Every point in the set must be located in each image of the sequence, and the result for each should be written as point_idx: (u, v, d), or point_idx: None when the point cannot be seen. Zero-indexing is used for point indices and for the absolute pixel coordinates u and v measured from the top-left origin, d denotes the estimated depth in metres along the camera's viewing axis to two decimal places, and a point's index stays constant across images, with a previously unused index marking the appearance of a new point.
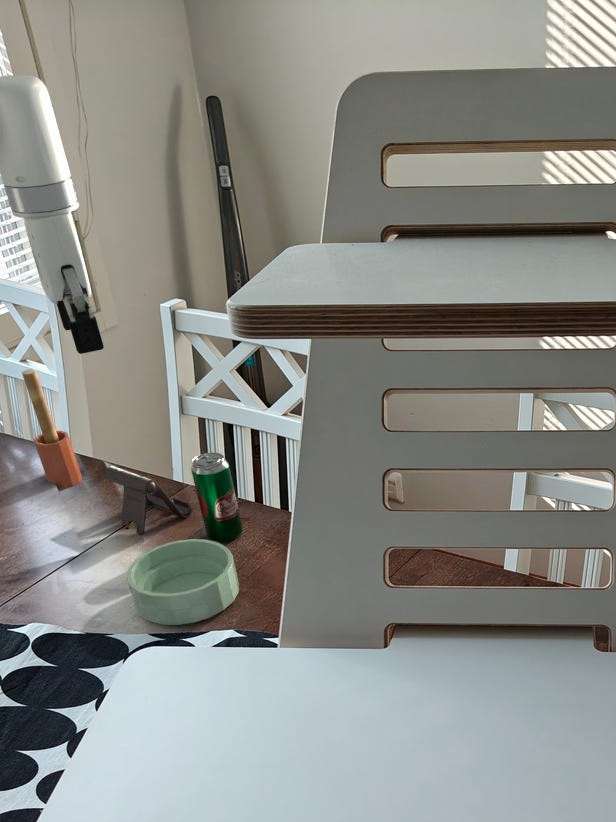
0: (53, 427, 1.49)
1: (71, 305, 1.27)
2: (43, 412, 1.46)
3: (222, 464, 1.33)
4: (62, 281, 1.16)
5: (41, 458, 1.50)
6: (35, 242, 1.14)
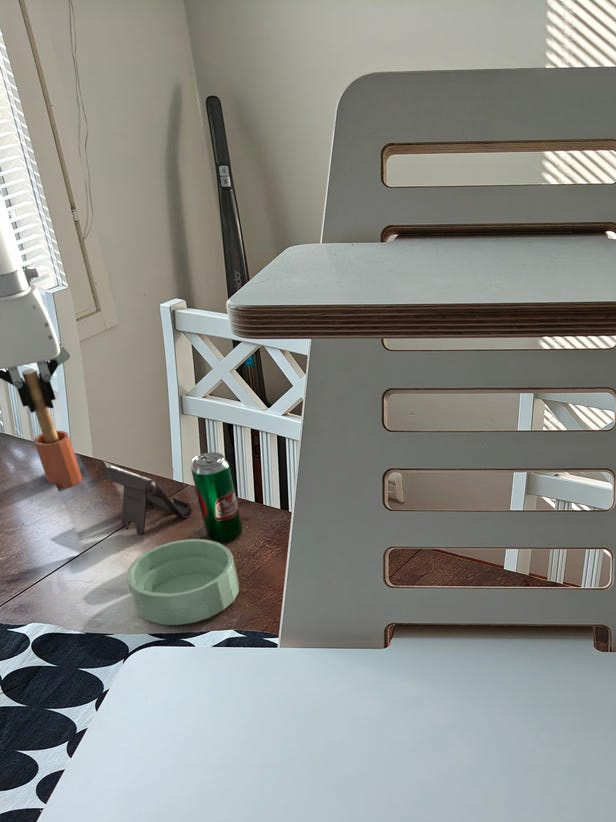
0: (53, 427, 1.49)
1: None
2: (43, 412, 1.46)
3: (222, 464, 1.33)
4: None
5: (41, 458, 1.50)
6: None
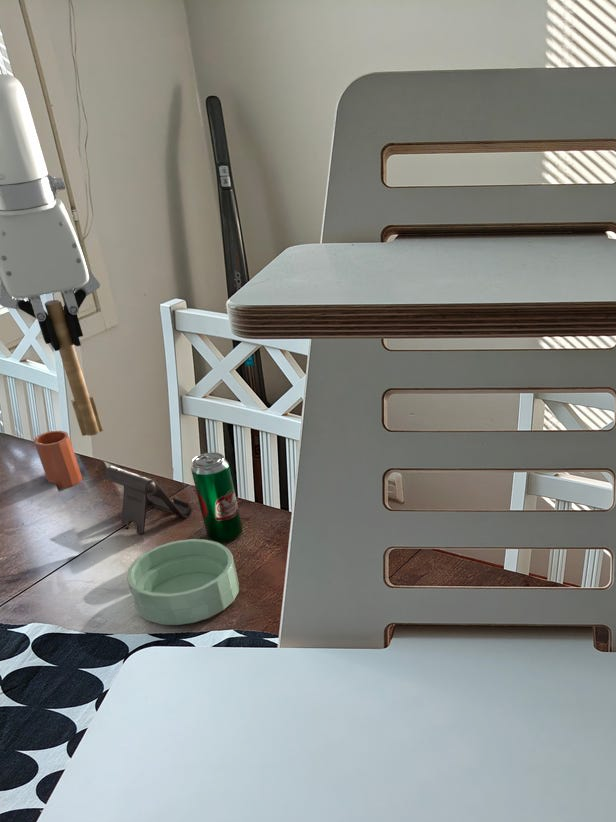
0: (80, 369, 1.30)
1: (66, 320, 1.26)
2: (68, 351, 1.27)
3: (222, 464, 1.33)
4: None
5: (41, 458, 1.50)
6: None
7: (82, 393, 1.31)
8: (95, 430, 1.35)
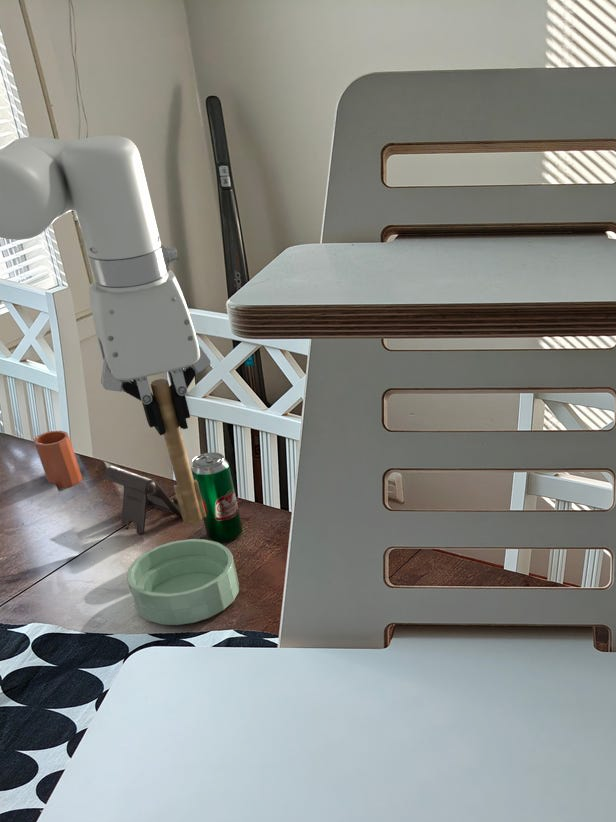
0: (185, 453, 1.17)
1: None
2: (174, 434, 1.15)
3: (222, 464, 1.33)
4: (101, 351, 1.08)
5: (41, 458, 1.50)
6: None
7: (187, 478, 1.18)
8: (198, 517, 1.22)
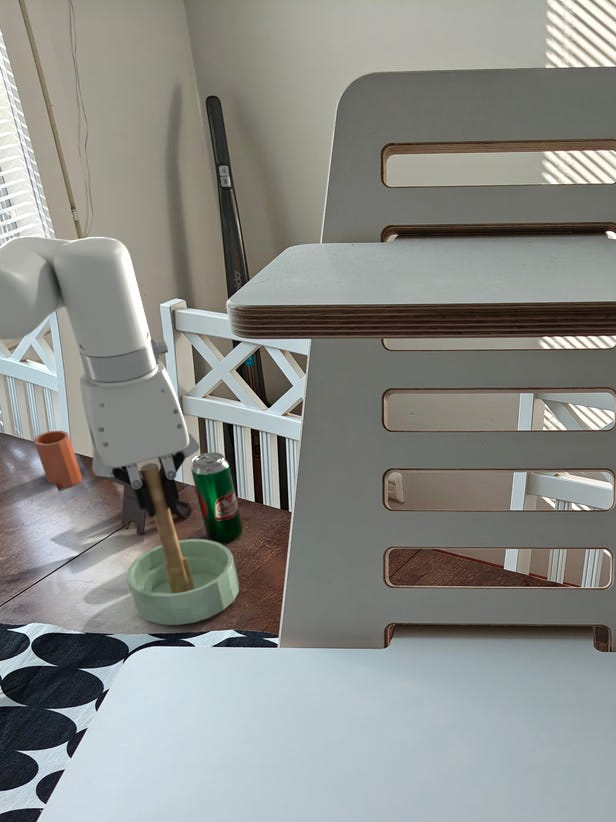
0: (174, 532, 1.19)
1: None
2: (164, 515, 1.17)
3: (222, 464, 1.33)
4: (92, 439, 1.10)
5: (41, 458, 1.50)
6: None
7: (176, 556, 1.21)
8: None
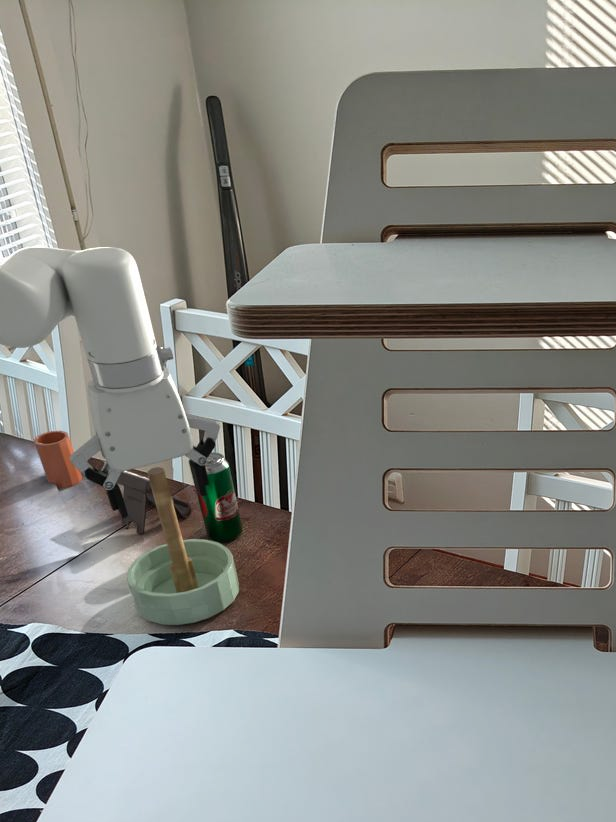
0: (180, 535, 1.22)
1: (192, 470, 1.19)
2: (170, 518, 1.20)
3: (222, 464, 1.33)
4: None
5: (41, 458, 1.50)
6: None
7: (181, 558, 1.23)
8: None
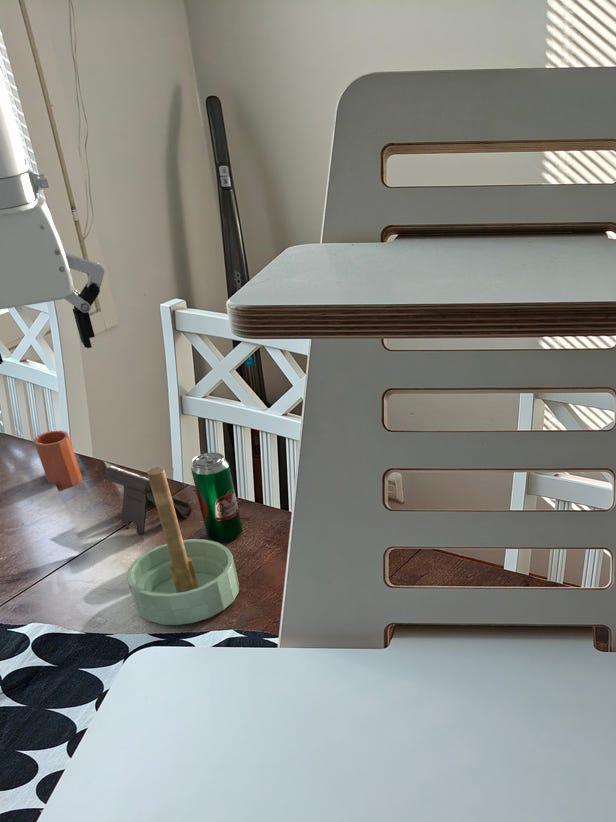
0: (180, 535, 1.22)
1: (76, 319, 1.12)
2: (170, 518, 1.20)
3: (222, 464, 1.33)
4: None
5: (41, 458, 1.50)
6: None
7: (181, 558, 1.23)
8: None
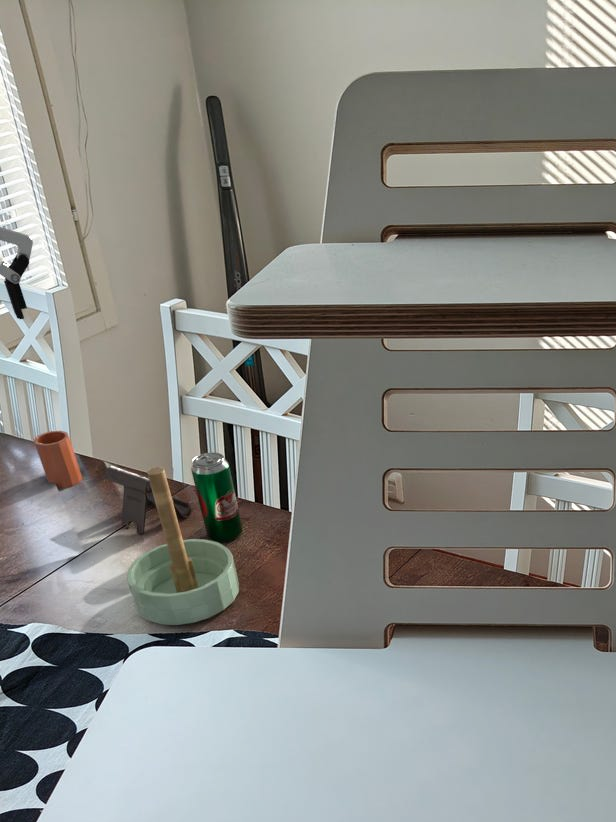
0: (180, 535, 1.22)
1: (7, 290, 1.13)
2: (170, 518, 1.20)
3: (222, 464, 1.33)
4: None
5: (41, 458, 1.50)
6: None
7: (181, 558, 1.23)
8: None
